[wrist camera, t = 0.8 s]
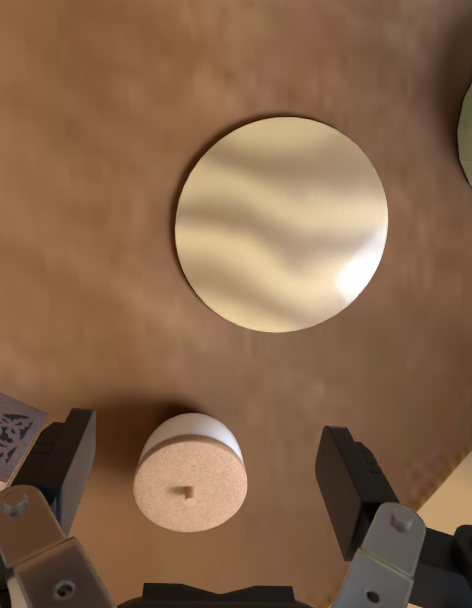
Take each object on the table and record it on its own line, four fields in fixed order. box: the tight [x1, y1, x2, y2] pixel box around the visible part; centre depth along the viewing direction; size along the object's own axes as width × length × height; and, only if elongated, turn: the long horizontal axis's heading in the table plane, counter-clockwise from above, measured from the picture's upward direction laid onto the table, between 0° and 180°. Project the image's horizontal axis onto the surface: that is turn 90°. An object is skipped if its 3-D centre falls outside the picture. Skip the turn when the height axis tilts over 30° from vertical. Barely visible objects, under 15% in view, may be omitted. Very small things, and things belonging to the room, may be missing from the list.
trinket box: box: [133, 413, 247, 532], centre depth 43 cm, size 11×11×9 cm
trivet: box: [175, 117, 388, 332], centre depth 40 cm, size 20×20×1 cm
